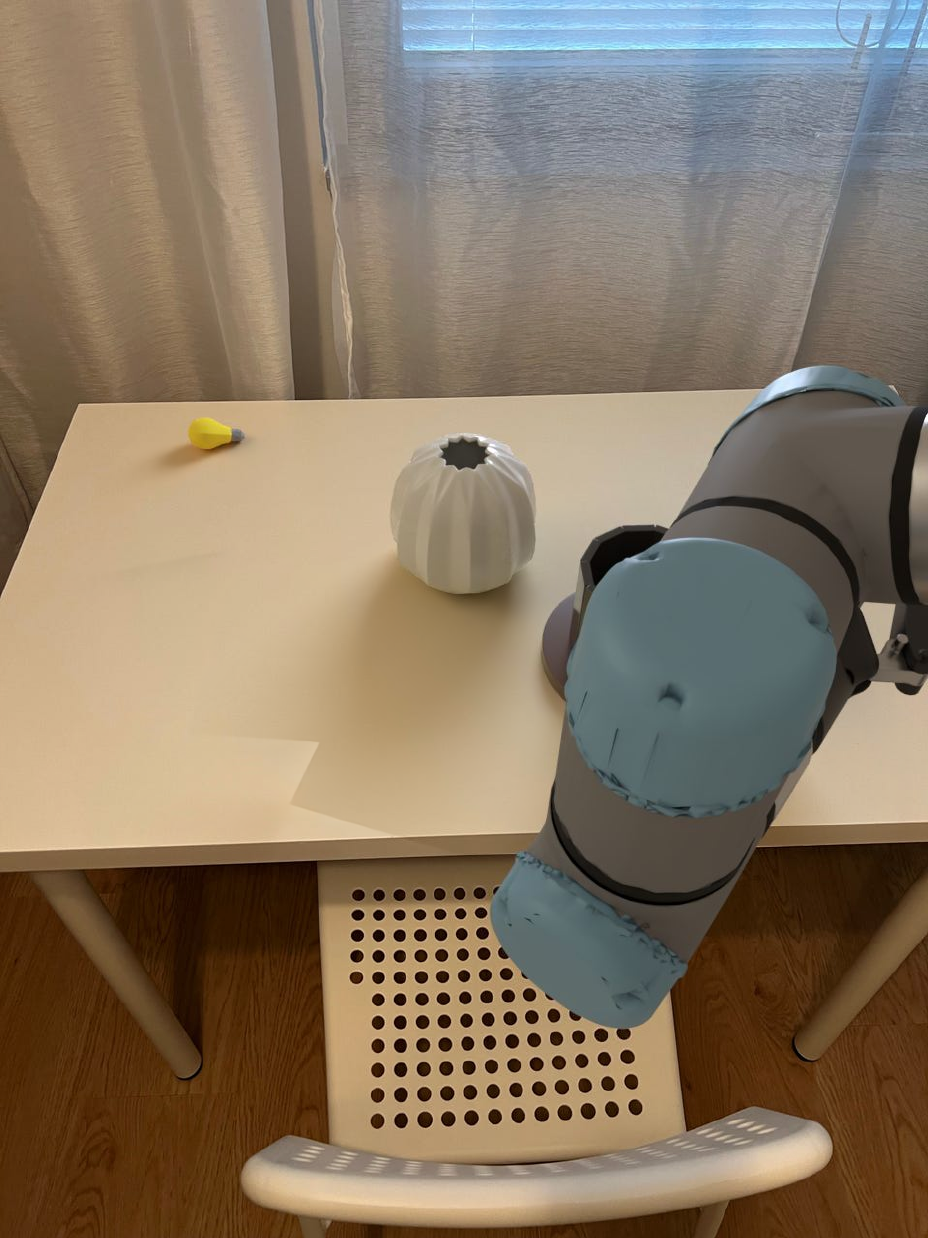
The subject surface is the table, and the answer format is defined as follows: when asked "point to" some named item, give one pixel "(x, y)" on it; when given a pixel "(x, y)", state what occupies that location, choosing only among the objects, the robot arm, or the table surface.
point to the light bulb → (212, 433)
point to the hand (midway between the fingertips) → (916, 456)
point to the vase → (464, 514)
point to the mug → (608, 562)
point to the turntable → (558, 644)
